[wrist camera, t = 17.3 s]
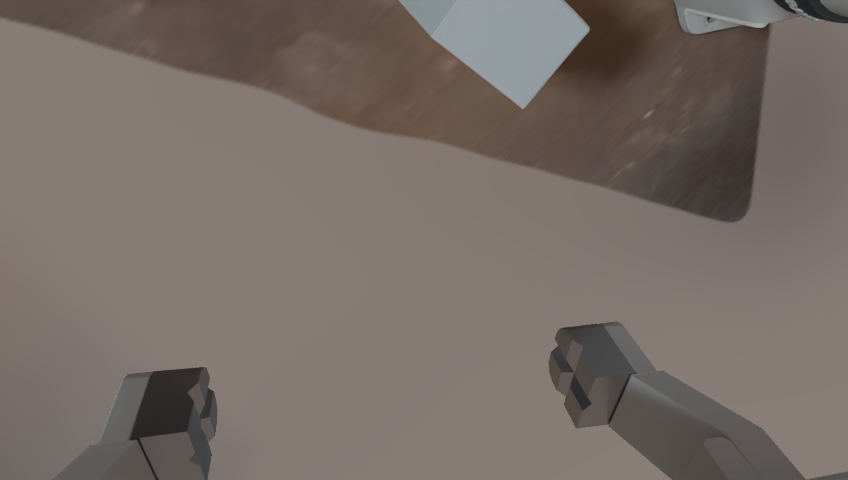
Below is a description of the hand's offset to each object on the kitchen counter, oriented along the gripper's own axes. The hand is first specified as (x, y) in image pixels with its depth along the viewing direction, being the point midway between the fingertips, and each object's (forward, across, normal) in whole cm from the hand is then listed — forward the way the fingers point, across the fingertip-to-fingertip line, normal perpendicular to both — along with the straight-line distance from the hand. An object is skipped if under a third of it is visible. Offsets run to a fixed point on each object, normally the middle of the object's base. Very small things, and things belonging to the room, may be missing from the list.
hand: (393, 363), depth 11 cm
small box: (+34, +10, +3) cm, 36 cm away
